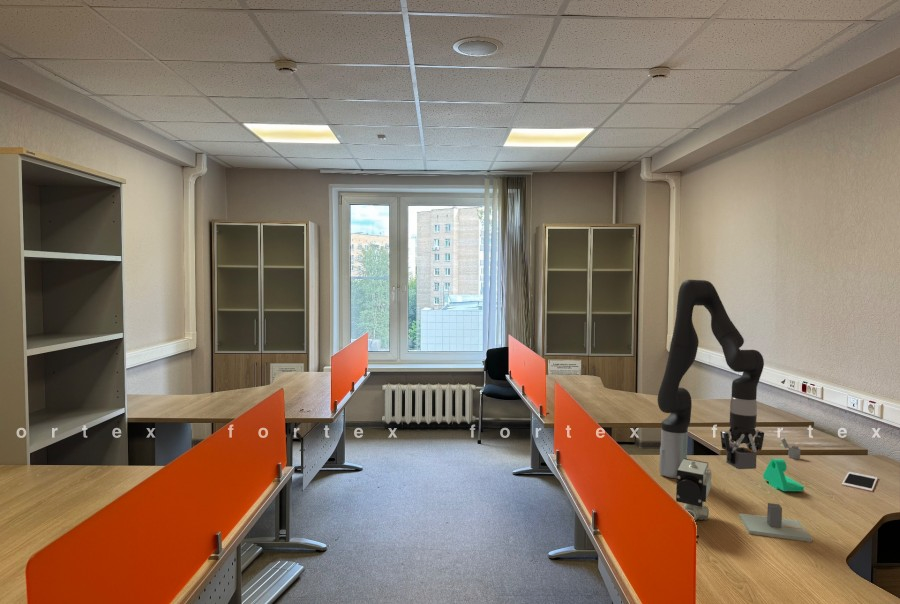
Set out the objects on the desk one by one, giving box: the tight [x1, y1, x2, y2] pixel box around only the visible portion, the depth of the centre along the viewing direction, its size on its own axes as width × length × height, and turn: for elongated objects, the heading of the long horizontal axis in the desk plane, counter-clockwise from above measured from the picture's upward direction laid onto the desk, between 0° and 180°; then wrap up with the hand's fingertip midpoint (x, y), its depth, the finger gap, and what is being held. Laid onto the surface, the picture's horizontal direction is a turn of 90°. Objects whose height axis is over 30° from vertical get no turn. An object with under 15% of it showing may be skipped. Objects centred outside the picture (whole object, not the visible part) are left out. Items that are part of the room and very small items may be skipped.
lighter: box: [780, 437, 801, 460], centre depth 224 cm, size 7×2×8 cm, turn 59°
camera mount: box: [762, 458, 805, 492], centre depth 191 cm, size 12×8×10 cm, turn 0°
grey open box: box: [725, 446, 758, 470], centre depth 171 cm, size 6×6×5 cm
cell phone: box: [841, 471, 878, 493], centre depth 198 cm, size 9×18×1 cm, turn 136°
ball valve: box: [675, 458, 712, 521], centre depth 165 cm, size 18×8×18 cm, turn 148°
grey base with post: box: [739, 502, 813, 543], centre depth 159 cm, size 16×12×7 cm
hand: (741, 462), depth 171 cm, fingers closed on grey open box, 6 cm apart
